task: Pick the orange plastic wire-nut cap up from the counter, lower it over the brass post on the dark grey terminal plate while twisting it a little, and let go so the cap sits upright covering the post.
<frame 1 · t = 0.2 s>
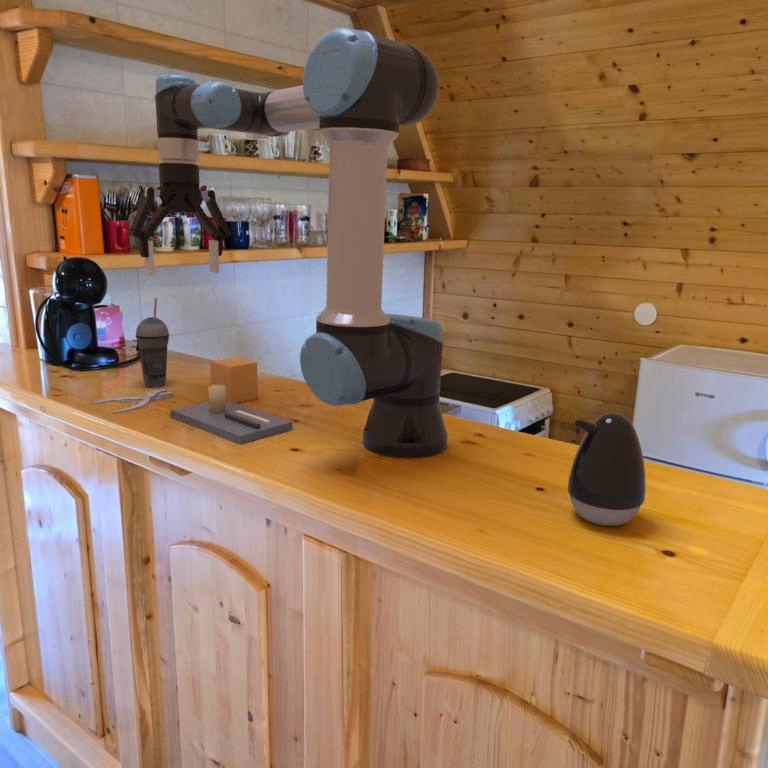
hand: (183, 273, 139), 27 cm above the counter, fingers open, 13 cm apart
terminal plate: (230, 423, 133), on the counter
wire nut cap: (234, 398, 150), on the counter
beverage cup: (155, 385, 159), on the counter
pliers: (138, 404, 145), on the counter
pump dispenser: (601, 519, 96), on the counter
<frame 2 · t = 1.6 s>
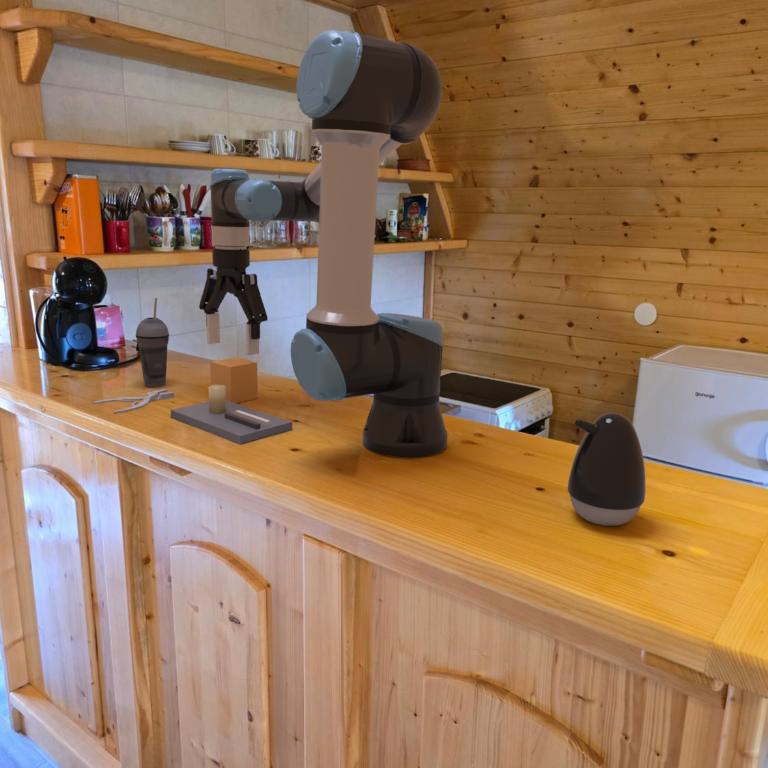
hand: (232, 348, 148), 11 cm above the counter, fingers open, 13 cm apart
nothing on the counter moved.
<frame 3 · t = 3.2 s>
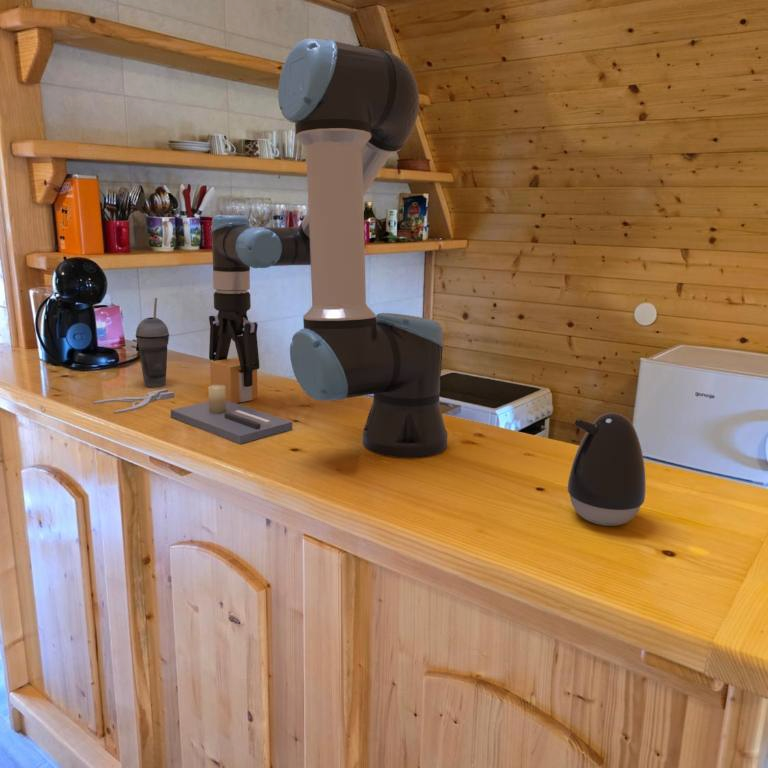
hand: (234, 396, 150), 0 cm above the counter, fingers closed on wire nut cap, 7 cm apart
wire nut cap: (234, 398, 150), on the counter, touching gripper
everything else where it was.
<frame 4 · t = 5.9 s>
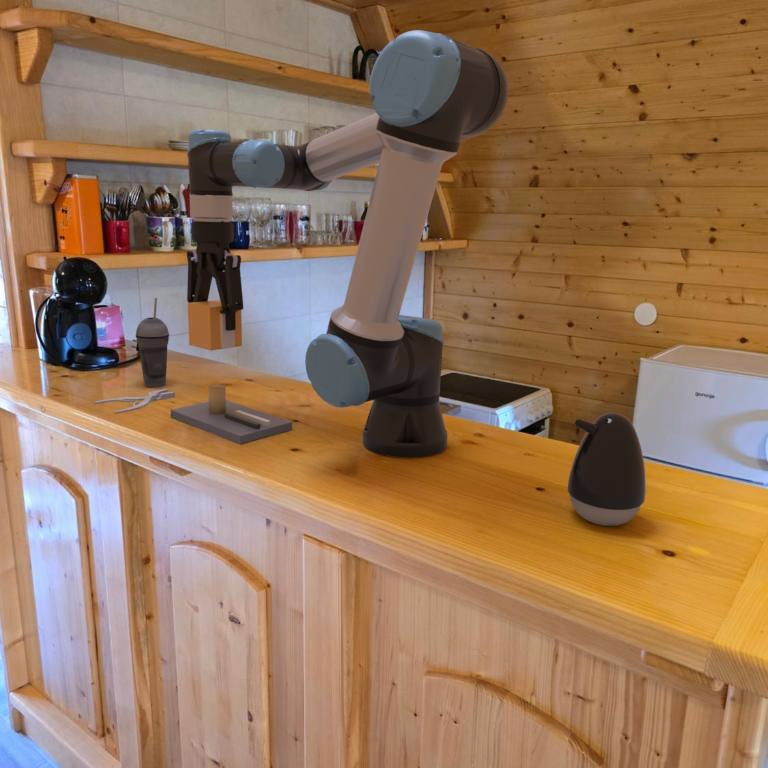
hand: (215, 343, 132), 15 cm above the counter, fingers closed on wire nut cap, 7 cm apart
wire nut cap: (215, 345, 132), point 15 cm above the counter, touching gripper
everything else where it was.
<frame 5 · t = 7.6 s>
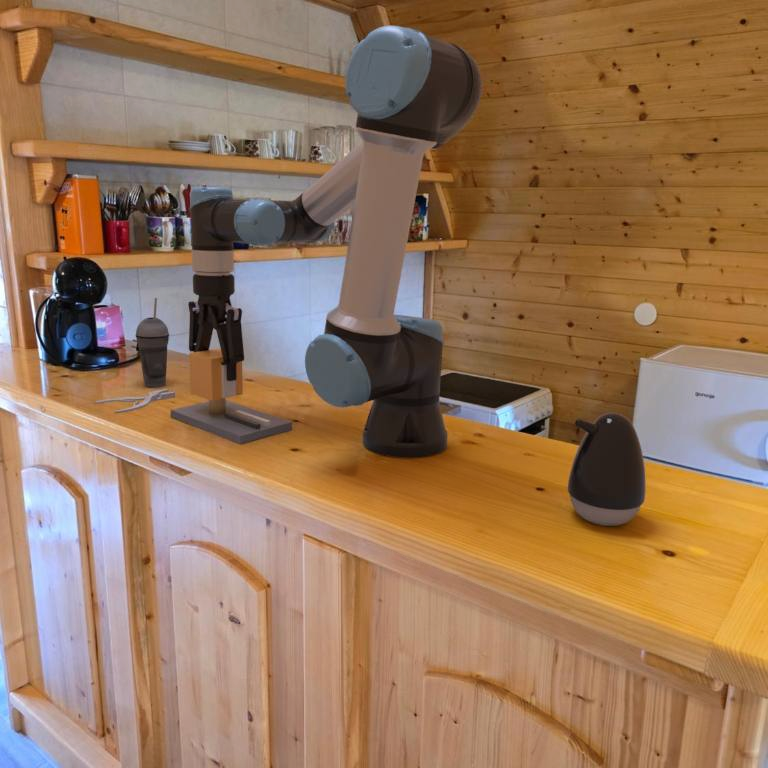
hand: (216, 392, 134), 5 cm above the counter, fingers closed on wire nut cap, 7 cm apart
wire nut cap: (216, 393, 134), point 5 cm above the counter, touching gripper
everything else where it was.
when the fingers open (3 cm above the counter, at t = 8.8 s): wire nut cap stays where it is, resting on terminal plate.
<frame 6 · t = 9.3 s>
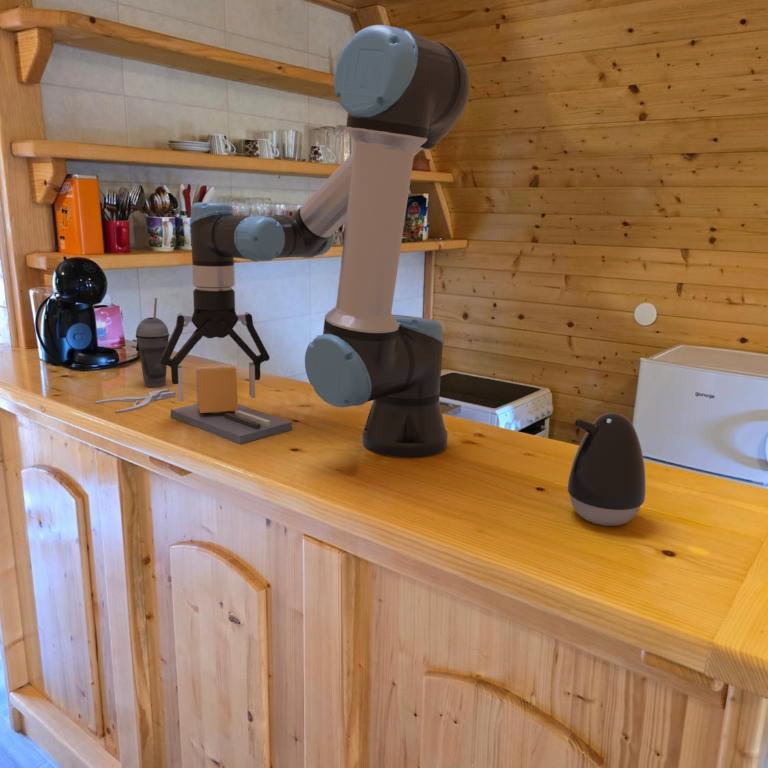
hand: (217, 398, 134), 4 cm above the counter, fingers open, 13 cm apart
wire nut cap: (217, 409, 135), point 2 cm above the counter, tilted 8°, touching terminal plate
everything else where it was.
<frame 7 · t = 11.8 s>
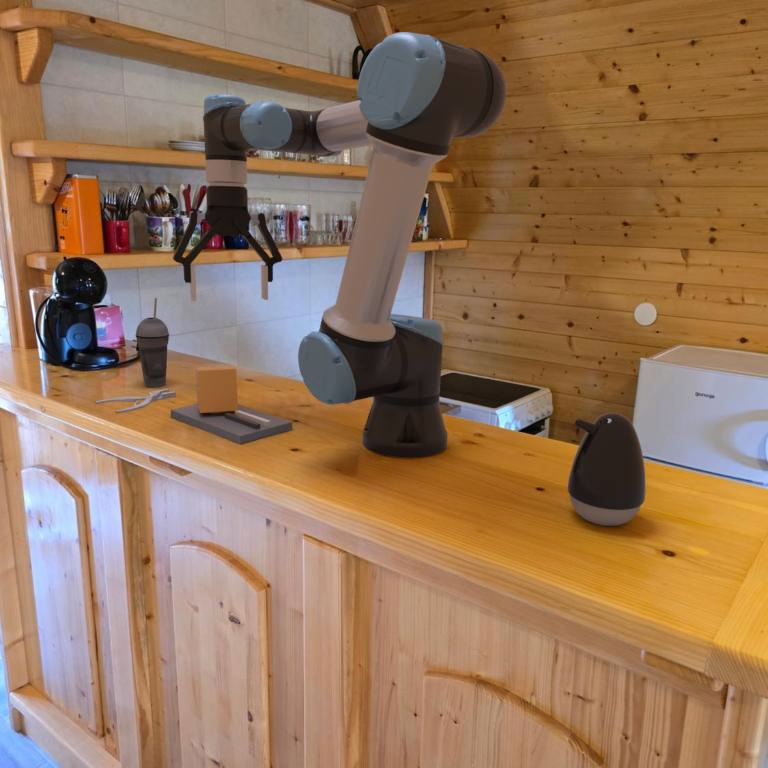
hand: (229, 299, 134), 23 cm above the counter, fingers open, 13 cm apart
nothing on the counter moved.
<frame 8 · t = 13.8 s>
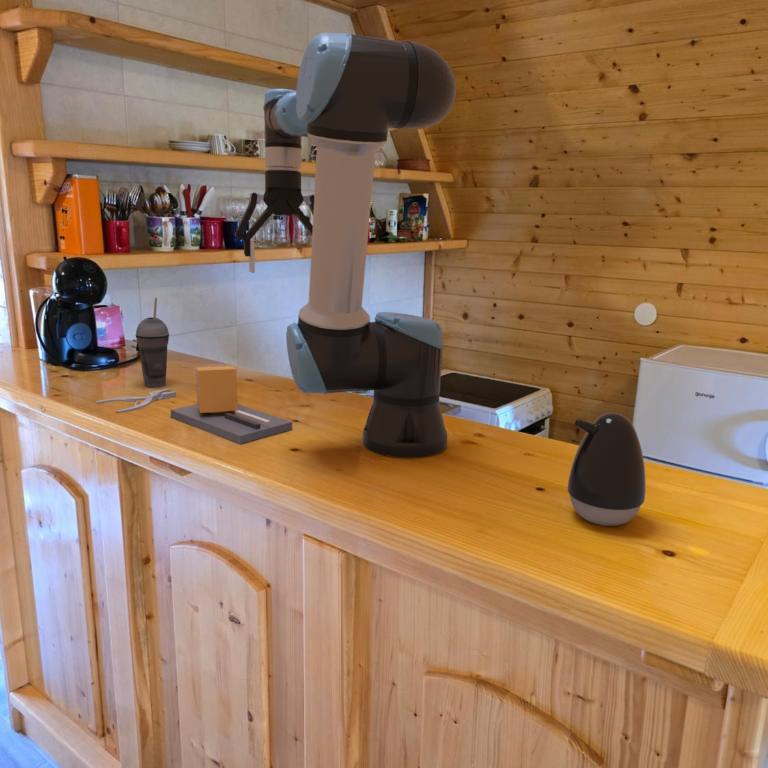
hand: (283, 272, 150), 27 cm above the counter, fingers open, 13 cm apart
nothing on the counter moved.
at the end: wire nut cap 0.1 cm from the target spot on the terminal plate, point 2.0 cm above the terminal plate's base; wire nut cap tilted 8°; the gripper is holding nothing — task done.
